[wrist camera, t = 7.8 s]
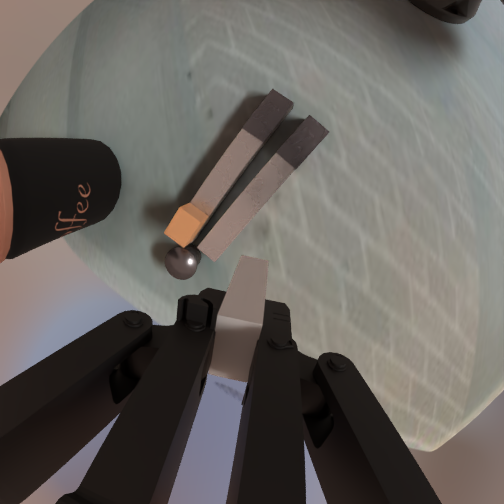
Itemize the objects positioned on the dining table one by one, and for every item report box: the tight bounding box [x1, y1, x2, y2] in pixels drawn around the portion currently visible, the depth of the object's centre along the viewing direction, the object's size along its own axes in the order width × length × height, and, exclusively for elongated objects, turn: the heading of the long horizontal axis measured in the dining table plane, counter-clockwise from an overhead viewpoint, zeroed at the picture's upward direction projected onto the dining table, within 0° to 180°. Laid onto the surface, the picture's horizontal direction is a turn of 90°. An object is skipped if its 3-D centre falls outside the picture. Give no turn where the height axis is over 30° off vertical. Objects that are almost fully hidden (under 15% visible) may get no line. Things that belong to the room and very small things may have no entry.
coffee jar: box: [0, 138, 121, 263], centre depth 21 cm, size 11×11×18 cm
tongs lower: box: [165, 89, 294, 280], centre depth 28 cm, size 22×5×3 cm, turn 144°
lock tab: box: [164, 203, 209, 248], centre depth 26 cm, size 3×2×3 cm
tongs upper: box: [197, 115, 329, 262], centre depth 27 cm, size 18×2×2 cm, turn 140°
